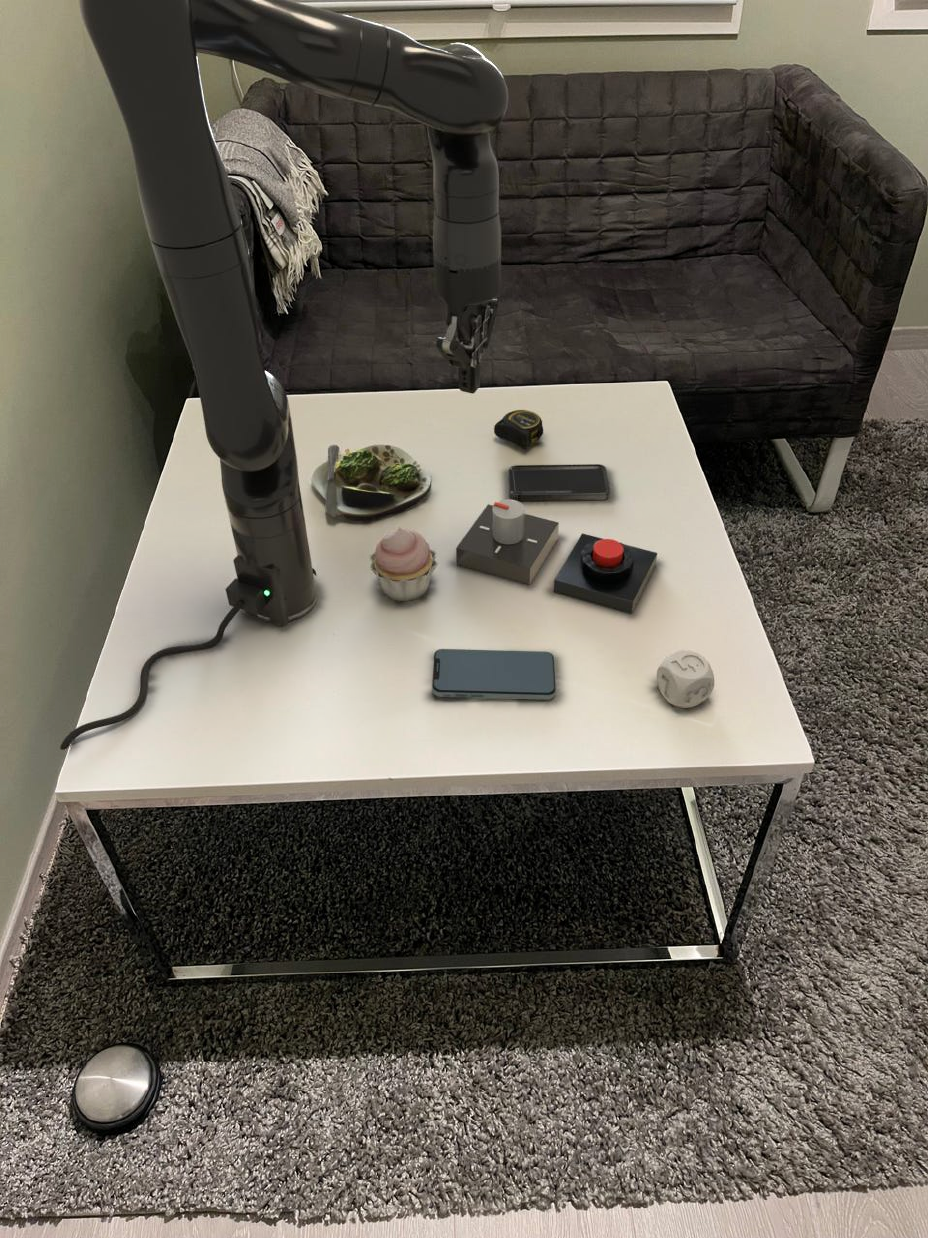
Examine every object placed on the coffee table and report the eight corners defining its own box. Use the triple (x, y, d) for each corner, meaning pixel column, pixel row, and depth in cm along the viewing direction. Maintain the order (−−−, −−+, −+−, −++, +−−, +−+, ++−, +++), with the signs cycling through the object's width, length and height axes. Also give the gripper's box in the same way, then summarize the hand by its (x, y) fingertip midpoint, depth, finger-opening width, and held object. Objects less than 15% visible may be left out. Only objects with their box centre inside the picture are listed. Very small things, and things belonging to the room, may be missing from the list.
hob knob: (529, 530, 142) (530, 502, 139) (515, 548, 139) (515, 520, 136) (501, 521, 144) (501, 494, 140) (486, 538, 141) (486, 511, 138)
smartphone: (556, 694, 122) (431, 691, 122) (555, 703, 123) (431, 700, 123) (553, 649, 127) (434, 646, 127) (552, 659, 128) (434, 656, 128)
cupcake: (428, 558, 143) (424, 501, 136) (447, 600, 136) (445, 542, 129) (363, 572, 141) (357, 515, 134) (380, 616, 134) (374, 558, 127)
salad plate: (285, 470, 159) (281, 445, 156) (386, 436, 165) (384, 412, 162) (339, 536, 147) (335, 510, 144) (445, 496, 153) (444, 471, 150)
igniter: (631, 614, 134) (634, 591, 131) (553, 592, 137) (554, 569, 134) (655, 564, 141) (659, 542, 138) (581, 544, 144) (582, 522, 142)
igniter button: (616, 570, 135) (618, 560, 133) (588, 563, 136) (589, 553, 135) (626, 553, 137) (627, 543, 136) (598, 545, 138) (599, 535, 137)
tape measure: (491, 440, 164) (491, 420, 162) (519, 423, 168) (519, 403, 165) (523, 456, 161) (524, 436, 158) (551, 438, 164) (552, 418, 162)
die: (654, 685, 124) (658, 657, 121) (688, 673, 126) (694, 644, 122) (676, 713, 121) (681, 684, 117) (711, 700, 122) (717, 671, 119)
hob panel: (529, 585, 138) (530, 567, 136) (456, 564, 142) (455, 547, 139) (558, 538, 145) (559, 521, 143) (487, 520, 149) (487, 502, 147)
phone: (508, 465, 157) (605, 463, 157) (508, 471, 158) (604, 469, 157) (510, 495, 151) (610, 494, 151) (510, 501, 152) (610, 500, 152)
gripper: (461, 224, 118) (464, 358, 130) (410, 269, 109) (417, 409, 121) (521, 234, 115) (518, 370, 127) (473, 281, 107) (475, 423, 118)
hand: (469, 389), depth 124 cm, fingers closed
